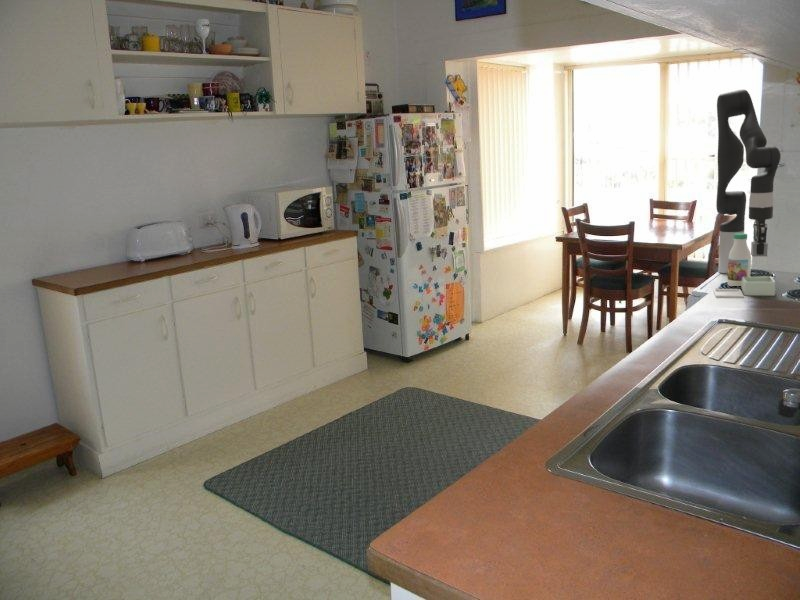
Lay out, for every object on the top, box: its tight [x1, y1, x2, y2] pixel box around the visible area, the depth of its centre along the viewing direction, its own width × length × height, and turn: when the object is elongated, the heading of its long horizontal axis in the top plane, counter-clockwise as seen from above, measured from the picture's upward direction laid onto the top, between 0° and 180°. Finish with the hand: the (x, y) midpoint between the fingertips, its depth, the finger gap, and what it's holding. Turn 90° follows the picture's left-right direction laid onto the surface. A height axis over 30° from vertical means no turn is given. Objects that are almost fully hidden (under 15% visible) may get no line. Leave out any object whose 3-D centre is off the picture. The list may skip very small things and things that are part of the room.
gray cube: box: [750, 241, 769, 258], centre depth 247 cm, size 5×5×5 cm
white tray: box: [712, 288, 745, 299], centre depth 251 cm, size 11×9×1 cm
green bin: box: [740, 276, 776, 297], centre depth 250 cm, size 10×10×5 cm
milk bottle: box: [727, 232, 752, 287], centre depth 261 cm, size 8×8×20 cm
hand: (759, 252), depth 247 cm, fingers closed on gray cube, 4 cm apart
